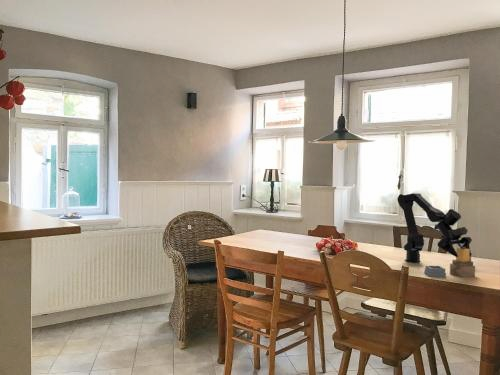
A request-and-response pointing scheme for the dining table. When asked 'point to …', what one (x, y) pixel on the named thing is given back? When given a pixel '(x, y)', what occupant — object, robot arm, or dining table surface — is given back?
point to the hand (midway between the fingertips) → (464, 256)
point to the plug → (463, 254)
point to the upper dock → (462, 268)
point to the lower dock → (435, 271)
